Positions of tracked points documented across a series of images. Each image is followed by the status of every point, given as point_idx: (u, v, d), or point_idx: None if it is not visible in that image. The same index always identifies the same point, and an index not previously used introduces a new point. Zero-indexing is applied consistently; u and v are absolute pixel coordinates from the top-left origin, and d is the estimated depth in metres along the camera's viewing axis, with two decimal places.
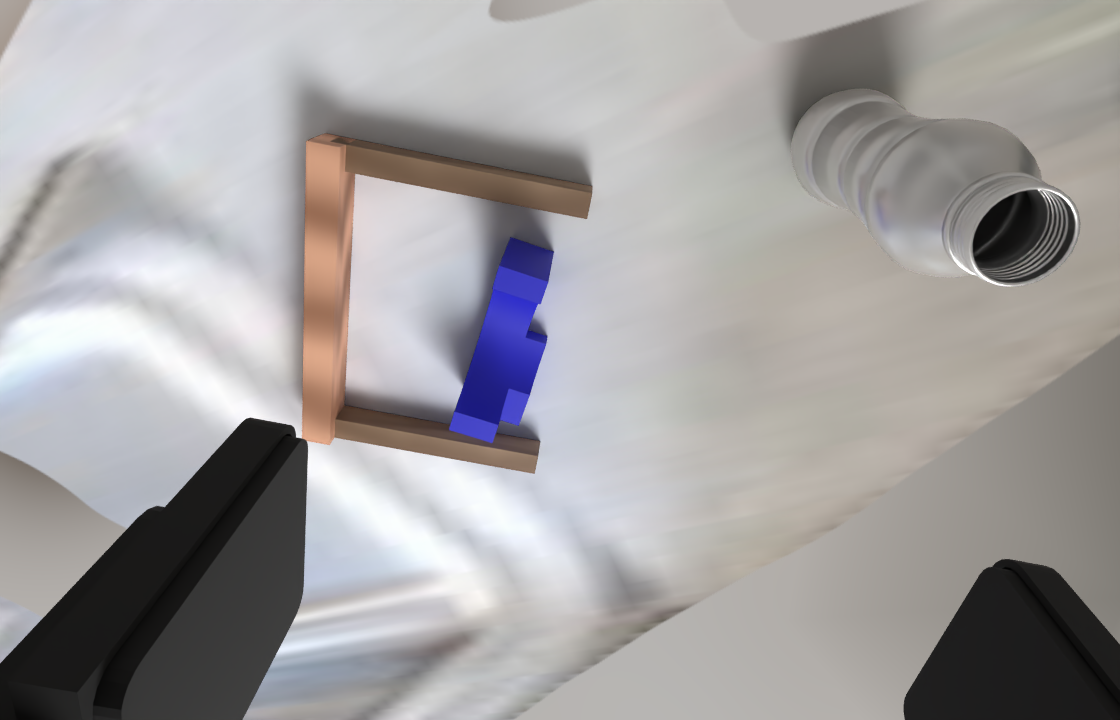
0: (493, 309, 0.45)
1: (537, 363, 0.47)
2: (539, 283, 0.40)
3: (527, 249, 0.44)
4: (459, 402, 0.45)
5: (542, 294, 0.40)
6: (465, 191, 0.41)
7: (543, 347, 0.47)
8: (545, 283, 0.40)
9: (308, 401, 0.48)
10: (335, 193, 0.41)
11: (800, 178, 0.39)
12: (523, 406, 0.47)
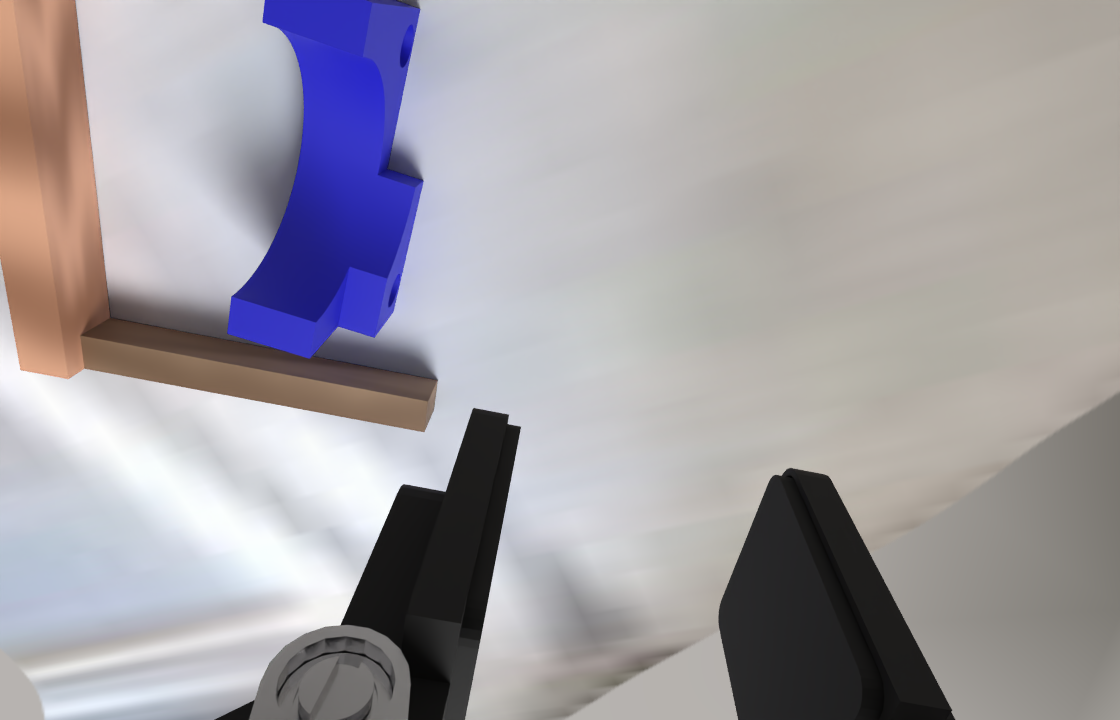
0: (313, 117, 0.25)
1: (402, 224, 0.27)
2: (355, 8, 0.20)
3: None
4: (248, 284, 0.25)
5: (364, 33, 0.20)
6: None
7: (411, 194, 0.26)
8: (367, 6, 0.20)
9: (17, 298, 0.27)
10: None
11: None
12: (378, 301, 0.27)
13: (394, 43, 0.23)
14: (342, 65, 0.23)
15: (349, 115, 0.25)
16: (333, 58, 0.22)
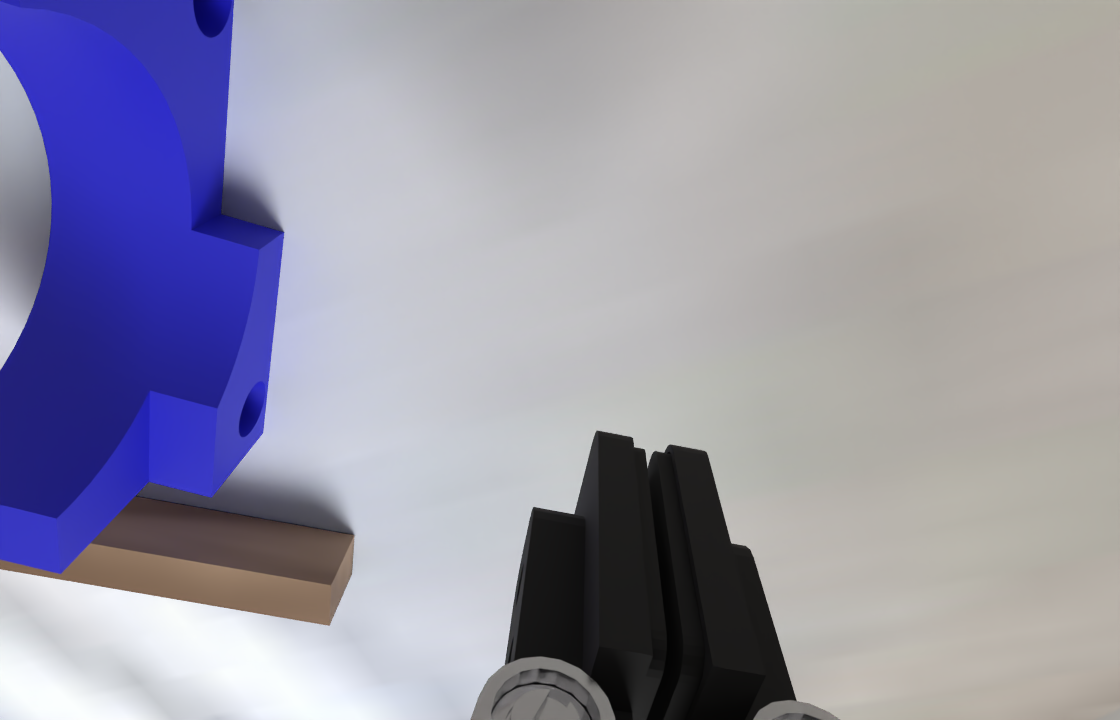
0: (58, 133, 0.14)
1: (243, 311, 0.15)
2: None
3: None
4: None
5: None
6: None
7: (253, 260, 0.15)
8: None
9: None
10: None
11: None
12: (209, 443, 0.16)
13: None
14: (55, 32, 0.11)
15: (117, 128, 0.14)
16: (29, 19, 0.11)
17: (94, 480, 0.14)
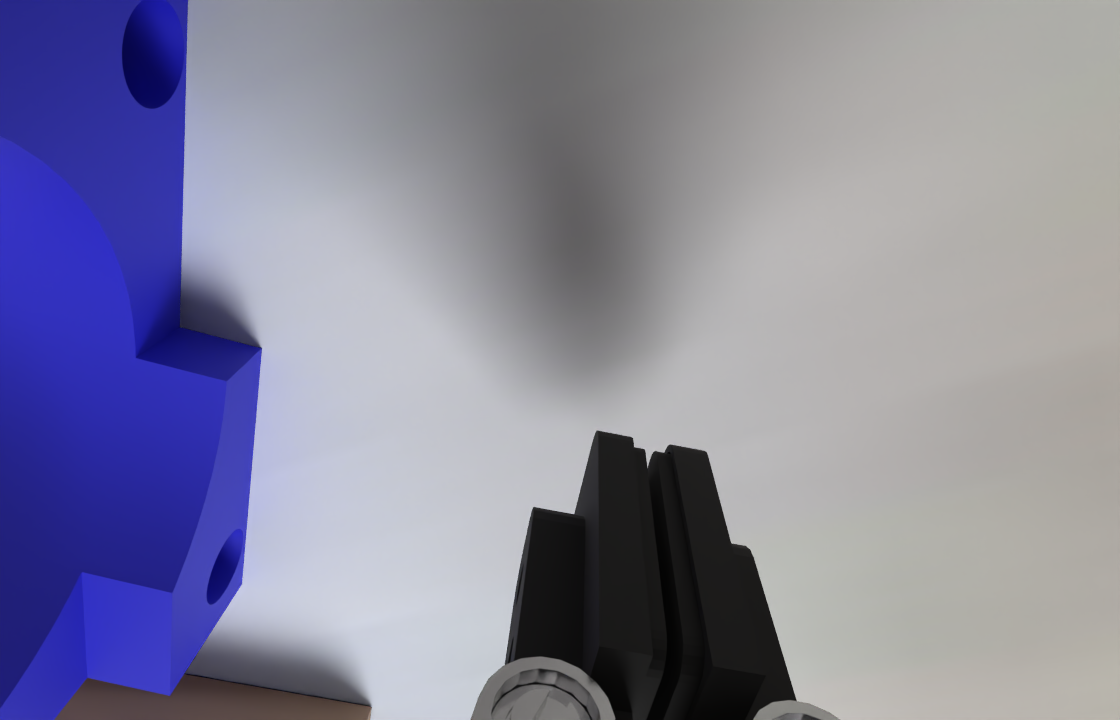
0: None
1: (207, 459, 0.12)
2: None
3: None
4: None
5: None
6: None
7: (219, 395, 0.11)
8: None
9: None
10: None
11: None
12: (163, 633, 0.12)
13: (67, 47, 0.08)
14: None
15: (25, 234, 0.10)
16: None
17: None
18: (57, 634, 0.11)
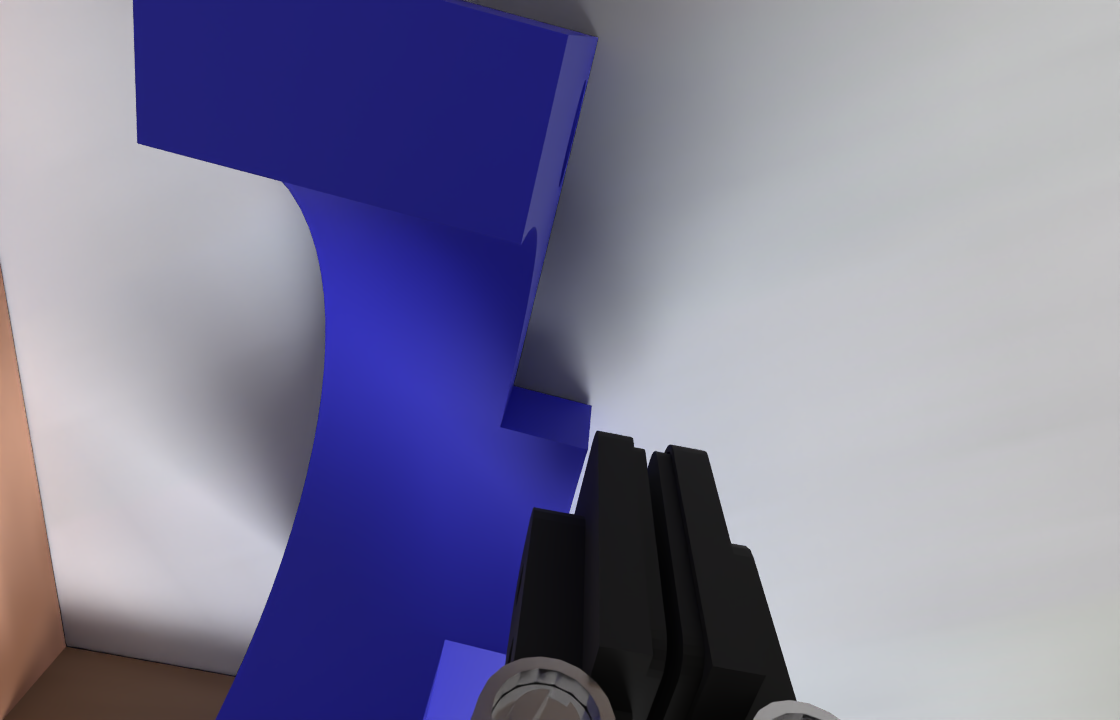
0: (349, 318, 0.10)
1: None
2: (493, 64, 0.05)
3: (464, 1, 0.09)
4: None
5: (529, 159, 0.05)
6: None
7: (577, 462, 0.11)
8: (546, 53, 0.05)
9: None
10: None
11: None
12: None
13: (564, 142, 0.08)
14: (423, 219, 0.08)
15: (435, 313, 0.10)
16: None
17: None
18: (428, 702, 0.11)
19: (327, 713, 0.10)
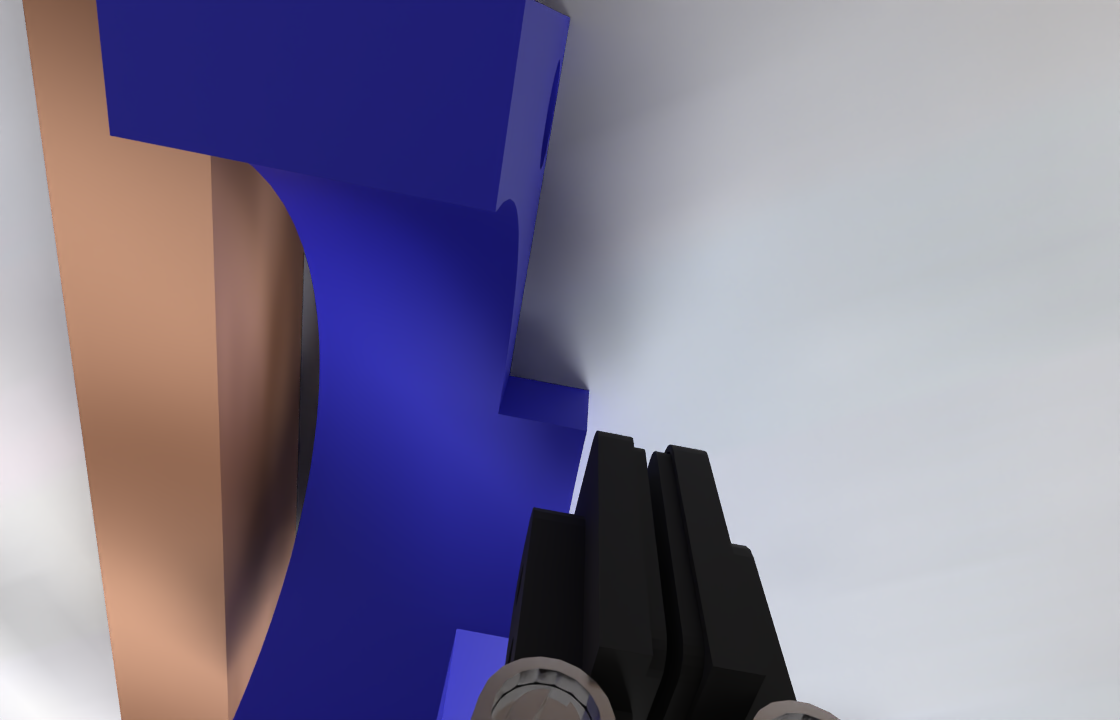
0: (340, 313, 0.10)
1: (561, 509, 0.12)
2: (455, 30, 0.05)
3: None
4: None
5: (496, 124, 0.05)
6: None
7: (577, 444, 0.11)
8: (505, 16, 0.05)
9: None
10: None
11: None
12: None
13: (540, 120, 0.08)
14: (404, 205, 0.08)
15: (425, 302, 0.10)
16: (377, 191, 0.08)
17: None
18: (443, 692, 0.11)
19: (343, 707, 0.11)
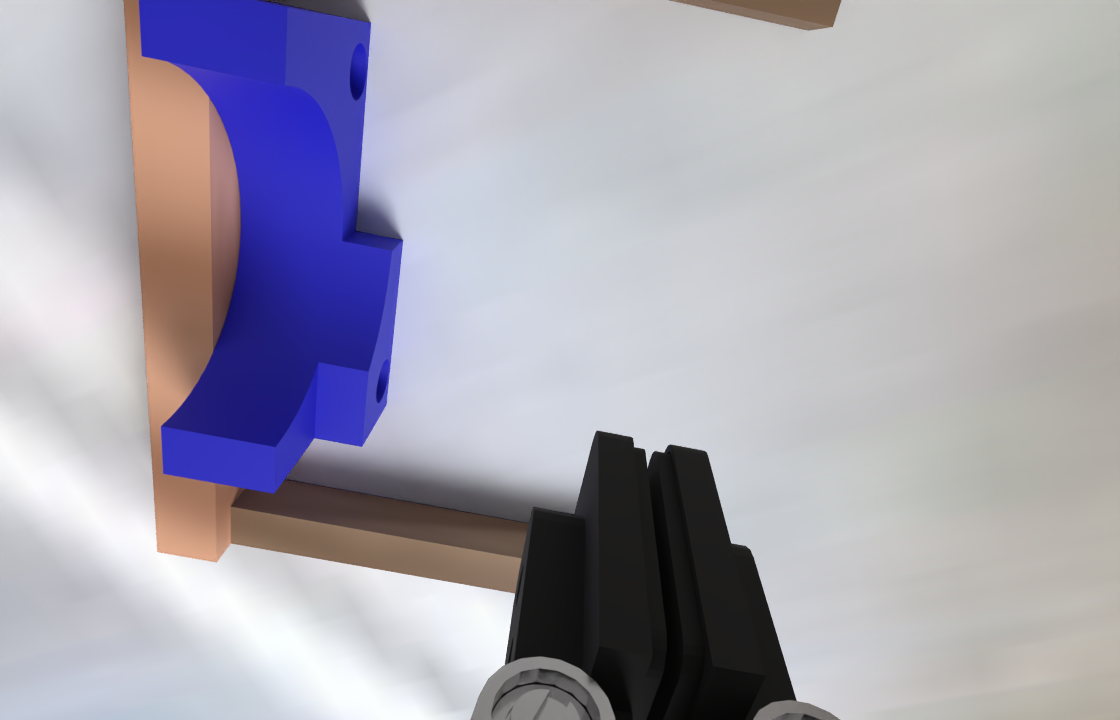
0: (251, 178, 0.19)
1: (381, 299, 0.21)
2: (264, 18, 0.14)
3: (291, 6, 0.18)
4: (186, 404, 0.19)
5: (282, 52, 0.14)
6: None
7: (387, 259, 0.20)
8: (281, 13, 0.14)
9: None
10: None
11: None
12: (361, 400, 0.21)
13: (337, 67, 0.17)
14: (271, 105, 0.17)
15: (294, 170, 0.19)
16: (257, 96, 0.17)
17: (291, 424, 0.19)
18: (309, 394, 0.20)
19: (250, 393, 0.19)
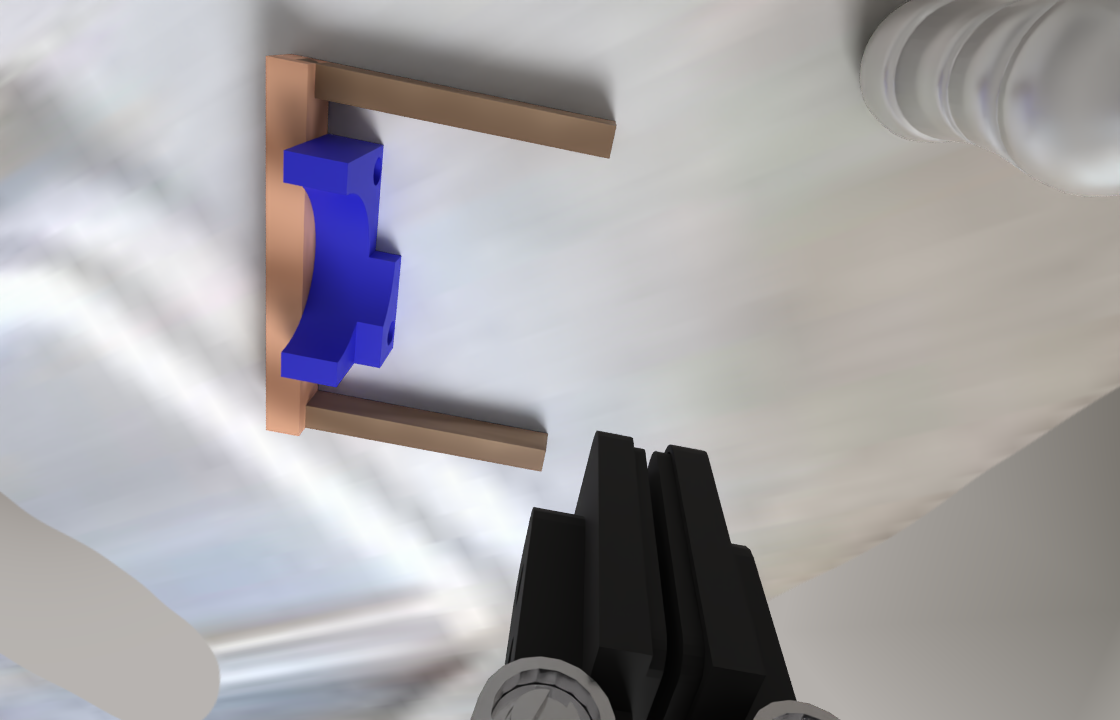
0: (321, 225, 0.37)
1: (389, 288, 0.39)
2: (338, 167, 0.32)
3: (344, 141, 0.35)
4: (291, 342, 0.37)
5: (345, 181, 0.32)
6: (461, 123, 0.34)
7: (393, 267, 0.38)
8: (345, 166, 0.31)
9: (272, 383, 0.40)
10: (302, 123, 0.33)
11: (874, 104, 0.32)
12: (379, 342, 0.39)
13: (367, 175, 0.35)
14: (335, 194, 0.35)
15: (344, 221, 0.37)
16: (329, 191, 0.34)
17: (344, 352, 0.37)
18: (352, 338, 0.38)
19: (322, 337, 0.37)
